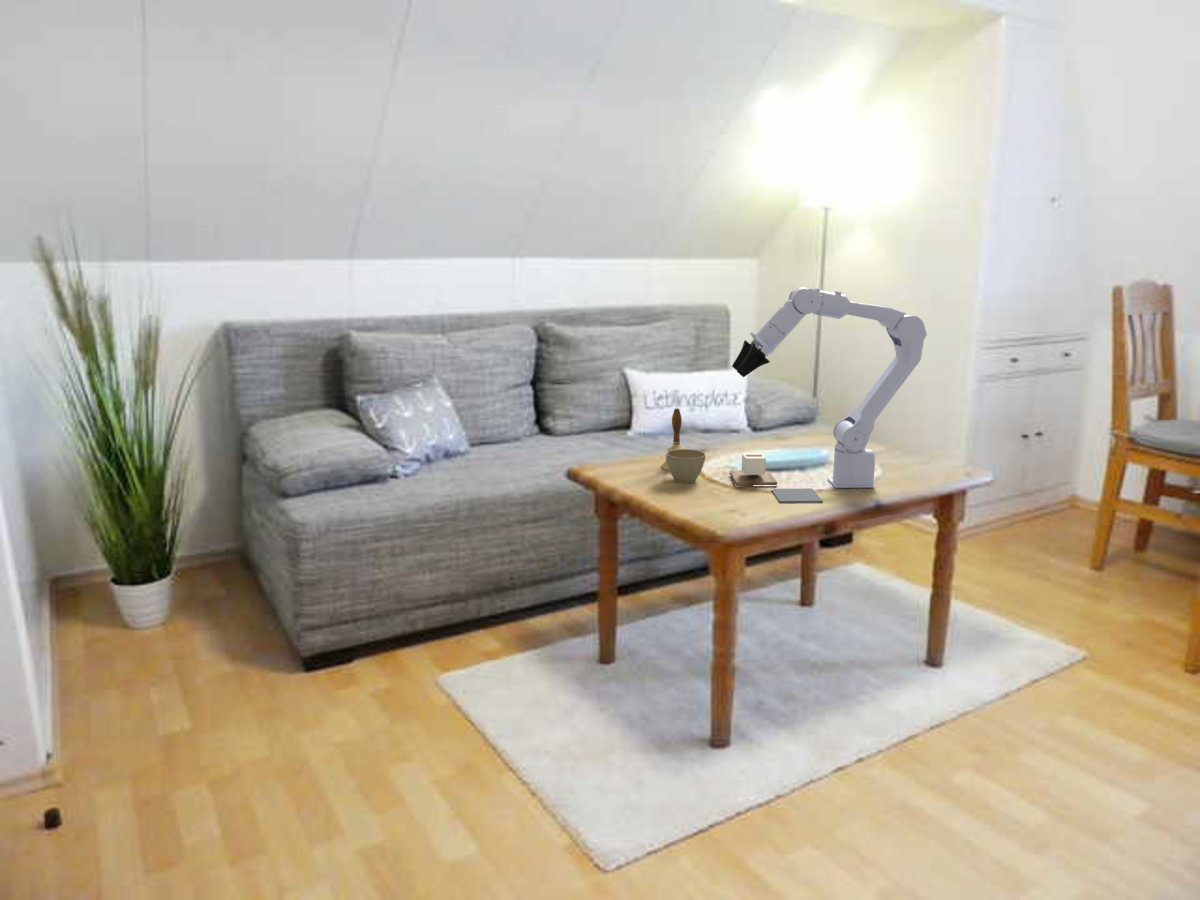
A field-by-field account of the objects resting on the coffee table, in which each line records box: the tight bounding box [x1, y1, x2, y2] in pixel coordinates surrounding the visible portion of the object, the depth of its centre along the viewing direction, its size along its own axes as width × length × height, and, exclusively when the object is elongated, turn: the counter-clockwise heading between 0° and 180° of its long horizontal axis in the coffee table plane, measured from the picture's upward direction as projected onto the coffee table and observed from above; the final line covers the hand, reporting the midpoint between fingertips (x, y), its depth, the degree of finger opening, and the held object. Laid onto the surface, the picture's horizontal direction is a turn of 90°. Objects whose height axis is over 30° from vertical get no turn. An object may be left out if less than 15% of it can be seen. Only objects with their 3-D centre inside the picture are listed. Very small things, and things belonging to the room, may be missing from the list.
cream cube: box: [741, 452, 767, 475], centre depth 215 cm, size 5×5×4 cm
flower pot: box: [665, 448, 707, 484], centre depth 216 cm, size 10×10×7 cm
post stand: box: [729, 470, 778, 487], centre depth 215 cm, size 10×10×6 cm
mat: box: [771, 487, 824, 504], centre depth 203 cm, size 10×10×1 cm
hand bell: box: [660, 408, 686, 472], centre depth 227 cm, size 8×8×16 cm
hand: (737, 371), depth 207 cm, fingers open, 7 cm apart
